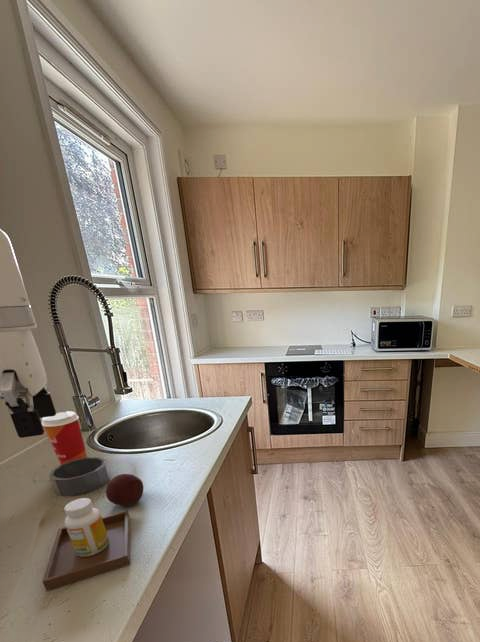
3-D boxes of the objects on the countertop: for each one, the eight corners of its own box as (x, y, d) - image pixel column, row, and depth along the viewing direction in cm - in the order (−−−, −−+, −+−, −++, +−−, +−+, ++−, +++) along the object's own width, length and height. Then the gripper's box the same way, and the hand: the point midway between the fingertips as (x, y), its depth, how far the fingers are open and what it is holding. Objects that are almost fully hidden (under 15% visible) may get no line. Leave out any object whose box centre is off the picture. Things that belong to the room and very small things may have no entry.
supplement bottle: (106, 534, 69) (92, 492, 65) (112, 548, 65) (98, 504, 61) (74, 546, 65) (57, 503, 62) (78, 562, 62) (60, 517, 58)
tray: (46, 591, 57) (42, 581, 56) (61, 536, 69) (58, 528, 68) (130, 564, 62) (127, 555, 61) (130, 518, 74) (128, 510, 73)
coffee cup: (60, 463, 99) (42, 413, 93) (94, 456, 102) (79, 408, 96) (55, 476, 92) (35, 423, 86) (91, 469, 95) (75, 417, 89)
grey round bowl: (51, 500, 81) (45, 484, 79) (60, 478, 91) (54, 463, 89) (108, 487, 86) (103, 471, 84) (110, 468, 95) (106, 453, 94)
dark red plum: (130, 489, 85) (123, 464, 82) (153, 498, 81) (146, 472, 78) (100, 505, 79) (92, 478, 76) (123, 515, 75) (115, 487, 72)
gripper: (-9, 316, 58) (25, 413, 64) (-58, 326, 43) (-7, 449, 50) (46, 315, 61) (73, 407, 67) (17, 323, 47) (56, 440, 53)
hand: (39, 425), depth 59 cm, fingers open, 9 cm apart
